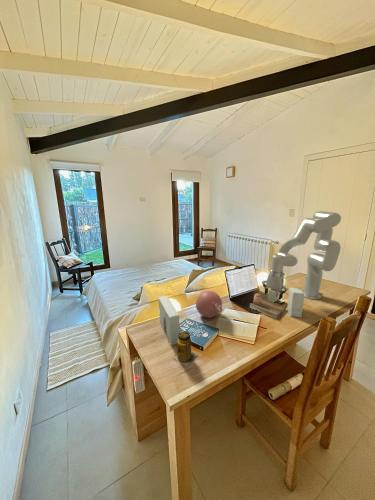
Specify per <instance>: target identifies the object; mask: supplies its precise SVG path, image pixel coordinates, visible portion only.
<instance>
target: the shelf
mask: <svg viewBox="0 0 375 500" xmlns="http://www.w3.org/2000/svg"><path fill="white" fill-rule="evenodd" d="M250 308H251V310H253V309H254V310H253V311H255V310H257V311H259V312H258V313H260V312H261V313H260V314H262V315H265V316H268V317H270V318H272V319H275V320H277V319H278V318H279V317H280V316H281V315H282V314H283V313H284V312H285V311H286V310H287V306H285V305H281V304H279V303H277V302H275V303H274V302H271V301H269V300H268V299H266V298H263V297H262V299H261V305H260V306H256V305H254V304H253V302H252V303H249V309H250ZM257 311H256V312H257Z"/></svg>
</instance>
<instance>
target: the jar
mask: <svg viewBox="0 0 375 500" xmlns="http://www.w3.org/2000/svg"><path fill="white" fill-rule="evenodd" d="M262 298H263V297H262V294H261V293H258V292H257V293H254V296H253V302H252V303H253V304H254V305H256V306H260V305H261V299H262Z"/></svg>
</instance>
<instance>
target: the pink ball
mask: <svg viewBox="0 0 375 500" xmlns="http://www.w3.org/2000/svg"><path fill="white" fill-rule="evenodd" d="M195 308H196V310H197V312H198V313H199V314H200V315H201V316H202V317H205V318H207V319H208V318H209V319H210V318H214V317H216V316H217V315H219V314H220V313H221V312H223V301H222V299H221V297H220V295H219V294H218V293H216V292H215V291H213V290H204V291H202V292H200V293H199V295H198V296H196V299H195Z"/></svg>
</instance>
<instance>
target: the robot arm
mask: <svg viewBox="0 0 375 500" xmlns="http://www.w3.org/2000/svg"><path fill="white" fill-rule="evenodd" d="M341 220H342V217H341V215H340V213H337V212H332V211H323V210H319V211H315V212H314V214H313V216H312V217H305V218H304V219H302V221H301V222H300V224H299V225H298V227H297V229H296V231H295V232H294V234H293V236H292V237H291V238H290V239H288V240H287V241H285V242H284V243H283V244H282V245H281V246H280V248H279V250H278V252H277V253H276V254H273V255H272V256H271V262H270V270H269V273H268V275H267V278H266V280H262V282H261V284H262V287H264V295H266V296H267V295H268V292H269V289H274V290H277V291H279V296H278V300H281V299H283V296H284V294H285V293H286V292H287V291H288V290H289V288H288V287H286V286H285V285H284V281H285V279H284V276H285V273H284V267H294V266H296V265H297V264H298V258H297V257H296V256H295V255H292V254H290V253H289V251H291V250H292V249H293V248H295V247H297V246H302V245H305V244H306V243H307V242H308V240H309V238H310V237H311V234H312V233H315V234H316V236H315V240H314V243H313V249H314V250H315V251H317V252H312V253H310V254H308V255H307V258H306V262H307V263H306V264H307V265H306V266H307V268H306V275H305V281H304V285H303V290H302V291H303V292H304V294H305V295H304V298H307V299H310V300H319V299H322V298H321V297H322V296H321V294H320V290H321V285H322V284H321V283H322V279H323V272H324V271H325V272H331V271H333V270H334V269H335V267H336V266H337V265H336V264H337V262H338V259H339V256H340V253H341V244H340V242H338V241H337V240H334V239H332V236H333V233H334V230H333V229H334V227H335V228H336V227H337V226H338V225H339V224H340V223H341ZM322 253H323V254H322Z"/></svg>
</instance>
